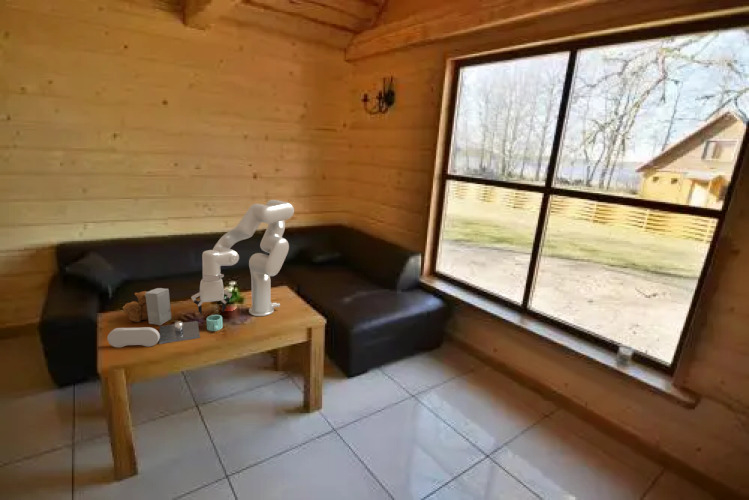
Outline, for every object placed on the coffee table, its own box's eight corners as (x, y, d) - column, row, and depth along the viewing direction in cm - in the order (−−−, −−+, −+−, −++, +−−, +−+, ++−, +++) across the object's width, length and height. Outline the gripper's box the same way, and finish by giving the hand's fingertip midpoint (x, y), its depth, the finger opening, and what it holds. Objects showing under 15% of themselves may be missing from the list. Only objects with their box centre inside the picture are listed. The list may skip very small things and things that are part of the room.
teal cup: (221, 323, 186) (221, 314, 185) (224, 331, 178) (223, 321, 177) (206, 325, 183) (205, 316, 181) (208, 334, 175) (207, 324, 174)
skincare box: (160, 325, 180) (157, 294, 176) (146, 323, 181) (143, 292, 177) (172, 318, 188) (170, 288, 184) (160, 316, 189) (157, 286, 185)
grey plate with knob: (197, 322, 185) (196, 313, 184) (199, 337, 171) (199, 327, 170) (159, 328, 178) (158, 318, 176) (159, 344, 164) (158, 333, 163)
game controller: (161, 343, 165) (159, 326, 162) (159, 346, 162) (157, 328, 160) (110, 345, 161) (108, 327, 159) (108, 348, 159) (105, 329, 157)
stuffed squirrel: (162, 315, 191) (160, 290, 187) (136, 326, 178) (133, 300, 174) (147, 311, 194) (145, 287, 191) (121, 322, 181) (117, 296, 178)
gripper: (230, 273, 182) (230, 307, 186) (190, 276, 174) (191, 311, 178) (232, 278, 176) (232, 313, 179) (191, 281, 167) (192, 317, 171)
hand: (212, 312), depth 179 cm, fingers open, 9 cm apart
